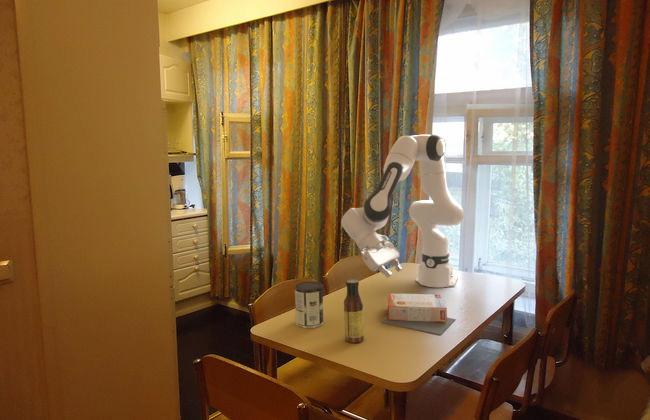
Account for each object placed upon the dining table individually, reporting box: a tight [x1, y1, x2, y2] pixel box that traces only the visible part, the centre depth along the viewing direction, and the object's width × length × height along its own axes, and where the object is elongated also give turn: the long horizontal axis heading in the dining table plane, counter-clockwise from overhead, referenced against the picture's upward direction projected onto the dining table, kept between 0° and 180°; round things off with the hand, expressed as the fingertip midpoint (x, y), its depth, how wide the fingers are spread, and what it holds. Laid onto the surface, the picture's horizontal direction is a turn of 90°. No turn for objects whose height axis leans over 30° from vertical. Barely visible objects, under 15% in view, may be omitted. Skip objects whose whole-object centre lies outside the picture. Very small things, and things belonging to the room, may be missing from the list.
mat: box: [380, 316, 456, 336], centre depth 157 cm, size 16×22×1 cm
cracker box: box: [387, 292, 448, 322], centre depth 162 cm, size 14×6×21 cm
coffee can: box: [294, 281, 325, 329], centre depth 156 cm, size 10×10×14 cm
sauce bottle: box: [343, 279, 365, 344], centre depth 141 cm, size 6×6×20 cm
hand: (395, 273), depth 160 cm, fingers open, 8 cm apart
